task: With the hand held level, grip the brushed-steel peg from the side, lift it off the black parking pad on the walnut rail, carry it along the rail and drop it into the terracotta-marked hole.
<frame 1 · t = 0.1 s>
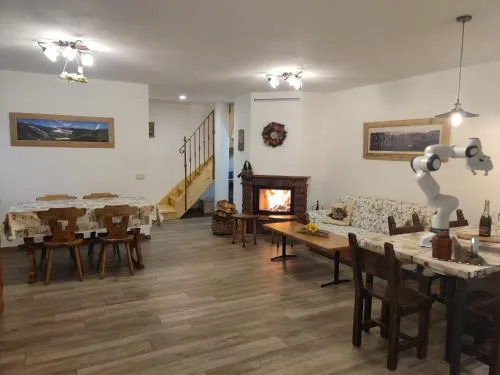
hand: (480, 175, 272), 52 cm above the table, tool tilted 20°, fingers open, 8 cm apart
peg: (474, 256, 224), point 4 cm above the table, touching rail
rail: (465, 259, 233), on the table
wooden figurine: (441, 259, 233), on the table
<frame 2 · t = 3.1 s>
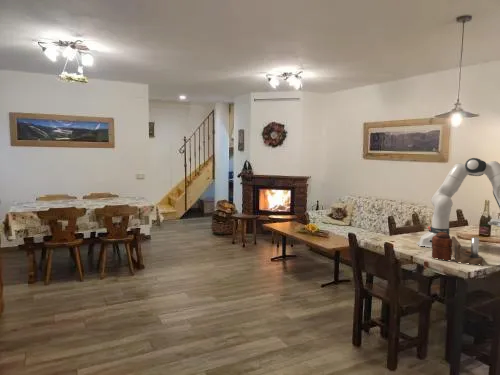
hand: (494, 224, 224), 24 cm above the table, tool horizontal, fingers open, 8 cm apart
nothing on the table moved.
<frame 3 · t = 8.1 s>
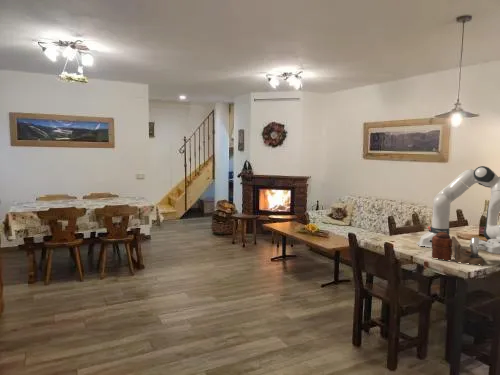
hand: (473, 246, 223), 11 cm above the table, tool horizontal, fingers closed on peg, 4 cm apart
peg: (474, 256, 224), point 4 cm above the table, touching gripper, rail
everything else where it was.
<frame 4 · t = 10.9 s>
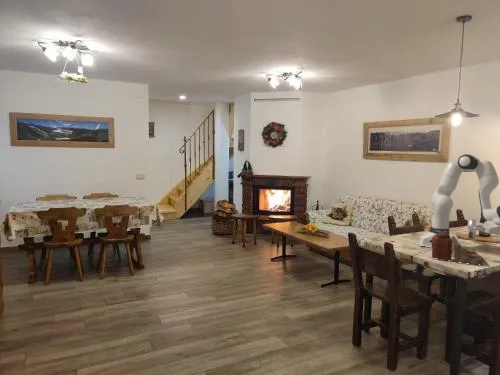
hand: (471, 227, 232), 21 cm above the table, tool horizontal, fingers closed on peg, 4 cm apart
peg: (471, 237, 232), point 14 cm above the table, touching gripper
everything else where it was.
when the fingers open (12 cm above the table, at t = 13.5 s): peg drops 6 cm, resting in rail.
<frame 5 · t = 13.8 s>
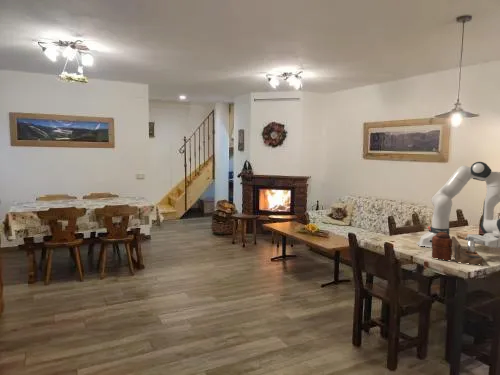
hand: (470, 240, 232), 12 cm above the table, tool horizontal, fingers open, 7 cm apart
peg: (470, 258, 234), resting in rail
everything else where it was.
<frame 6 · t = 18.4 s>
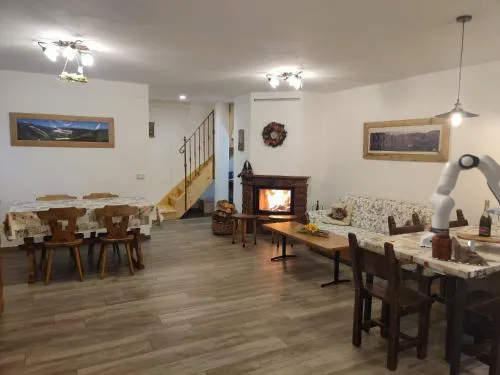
hand: (491, 212, 234), 30 cm above the table, tool horizontal, fingers open, 8 cm apart
nothing on the table moved.
at the end: peg 0.1 cm from the target spot on the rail, point 0.0 cm above the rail's base; peg tilted 1°; the gripper is holding nothing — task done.
